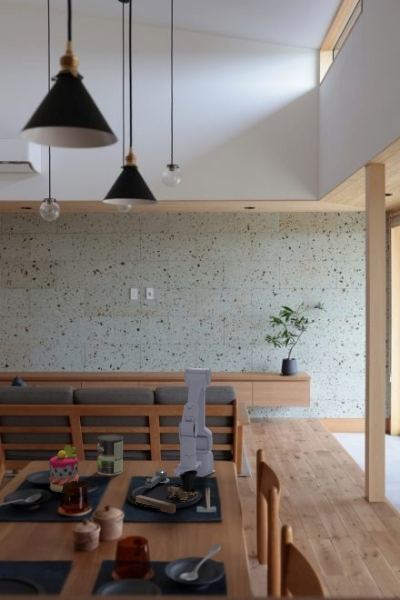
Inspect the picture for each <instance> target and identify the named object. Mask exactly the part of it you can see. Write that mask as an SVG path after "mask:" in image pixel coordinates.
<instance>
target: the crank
mask: <svg viewBox="0 0 400 600" xmlns="http://www.w3.org/2000/svg"><path fill="white" fill-rule="evenodd" d="M144 478H145V479H146V481H145V482H144V488H145V489H152V488H154V486H156V485H158V483H159V482H160V481H164V480H167V478H168V471H167V470H163V469H160V470H155V475H154V476H150V475H149V476H148V475H146V476H145V477H144Z"/></svg>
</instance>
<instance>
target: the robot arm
mask: <svg viewBox="0 0 400 600" xmlns="http://www.w3.org/2000/svg"><path fill="white" fill-rule="evenodd" d="M183 379H184V380H183V381H184V383H185V386H186V387H187V388H188V393H187V402H186V403H185V404H184V406H183V411H182V416H181V417H182V418H181V421H180V422H179V424H178V436H179V439H178V440H179V444H180V445H179V448H180V449H179V450H180V451H179V454H180V455H179V456H180V457H179V463H178V464H177V468H175V469H173V476H175V477H180V480H181V482H182V485H183V489H184V490H183V491H185V492H186V491H187V492H192V488H193V485H194V481H195V479H196V477H200V478H203V477H206V476H208V475H210V474H212V473H215V472H216V470H214V454H213V452H212V449H213V443H214V441H213V433H212V431H211V430H210V429H209V428H208V427H206V390H207V388H209V387H211V383H212V381H211V380H212V372H211V369H210V367H207V368H203V367H189V366H188V367H186V368H185V369H184V375H183Z"/></svg>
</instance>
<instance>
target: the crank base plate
mask: <svg viewBox="0 0 400 600" xmlns="http://www.w3.org/2000/svg"><path fill="white" fill-rule="evenodd" d="M159 483H164V484H168V483H170V479H169V478H168V477H167V480H164V481H160V482H159Z"/></svg>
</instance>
